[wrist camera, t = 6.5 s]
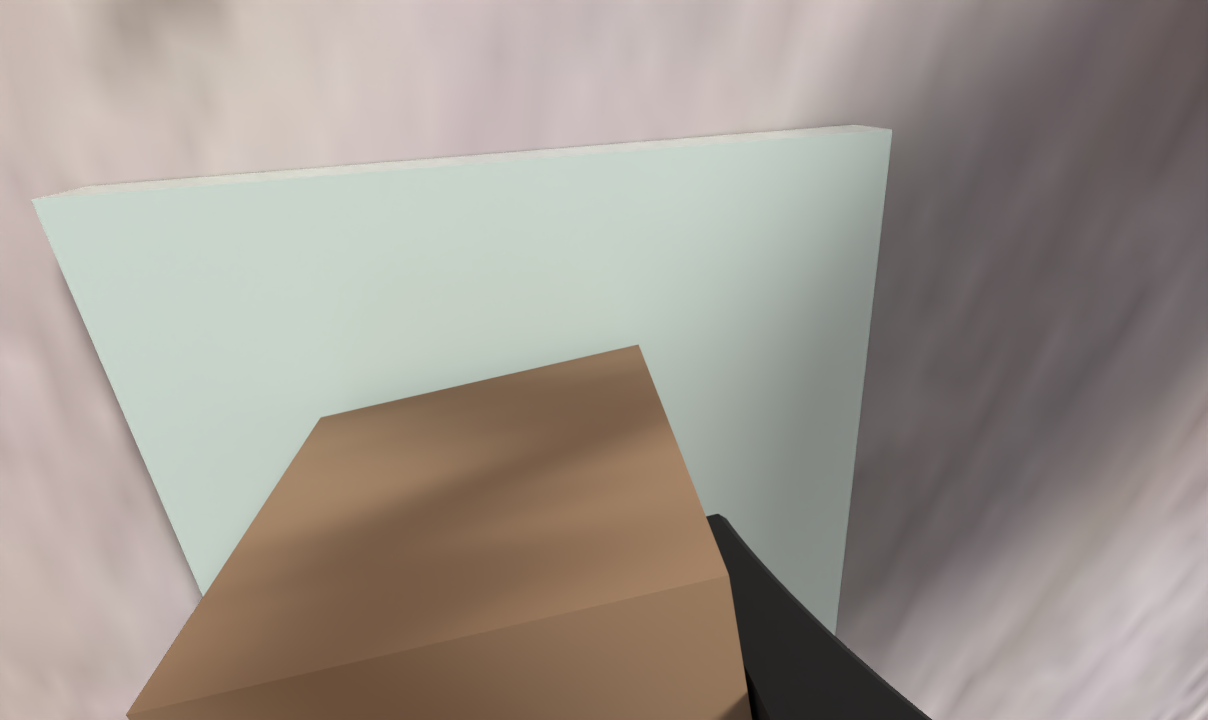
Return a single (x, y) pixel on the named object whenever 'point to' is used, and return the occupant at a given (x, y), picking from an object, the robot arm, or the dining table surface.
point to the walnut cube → (473, 568)
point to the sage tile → (498, 312)
